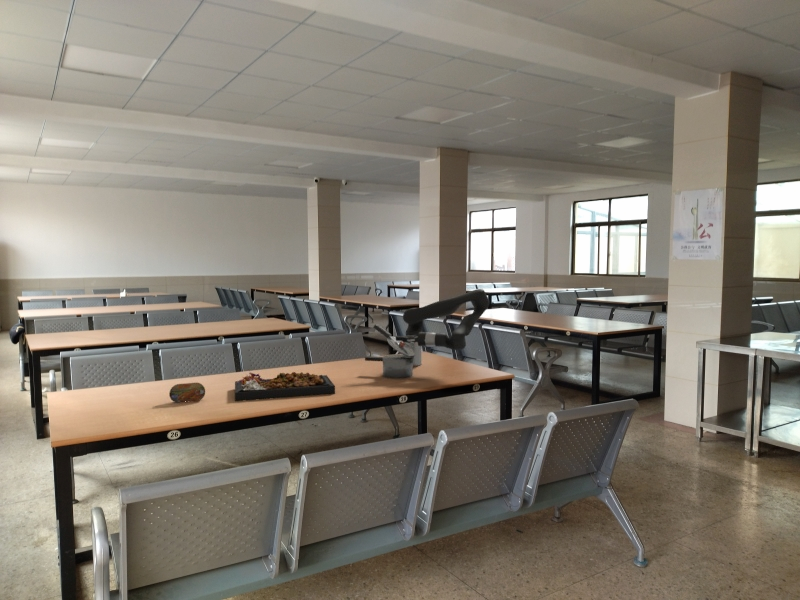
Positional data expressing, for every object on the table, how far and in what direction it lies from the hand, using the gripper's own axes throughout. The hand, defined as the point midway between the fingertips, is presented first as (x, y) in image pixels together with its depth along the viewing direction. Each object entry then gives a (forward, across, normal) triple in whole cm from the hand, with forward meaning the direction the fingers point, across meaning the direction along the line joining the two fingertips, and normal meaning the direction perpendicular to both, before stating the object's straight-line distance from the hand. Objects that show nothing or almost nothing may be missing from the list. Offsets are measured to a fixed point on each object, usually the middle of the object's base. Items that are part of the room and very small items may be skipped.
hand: (396, 338), depth 308 cm
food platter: (+41, +48, +21) cm, 67 cm away
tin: (+74, +76, +20) cm, 108 cm away
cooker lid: (+2, 0, +3) cm, 3 cm away
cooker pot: (+4, 0, +20) cm, 20 cm away
